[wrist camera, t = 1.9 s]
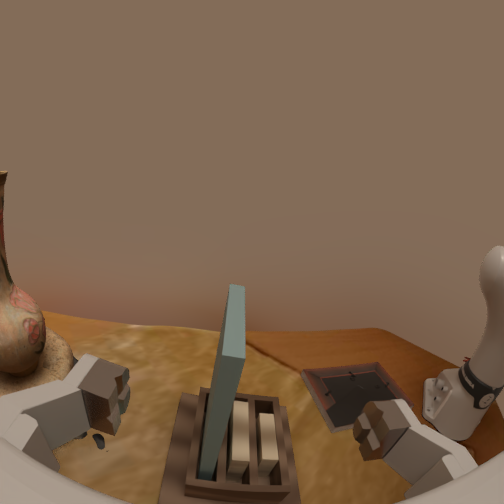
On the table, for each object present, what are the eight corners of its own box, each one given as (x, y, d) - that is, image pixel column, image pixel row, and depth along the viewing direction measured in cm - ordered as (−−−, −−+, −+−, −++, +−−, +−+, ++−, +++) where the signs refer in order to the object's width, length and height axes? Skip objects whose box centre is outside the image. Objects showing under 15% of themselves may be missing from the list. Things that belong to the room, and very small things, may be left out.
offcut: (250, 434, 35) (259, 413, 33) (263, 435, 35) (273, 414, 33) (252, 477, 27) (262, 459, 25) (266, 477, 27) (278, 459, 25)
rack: (181, 397, 41) (183, 372, 39) (283, 411, 42) (294, 388, 40) (158, 508, 20) (154, 495, 18) (299, 519, 21) (318, 506, 19)
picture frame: (330, 435, 38) (409, 411, 44) (335, 427, 38) (414, 404, 43) (299, 376, 54) (374, 368, 59) (303, 368, 53) (378, 361, 59)
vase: (-11, 365, 28) (-45, 167, 17) (83, 349, 44) (79, 163, 34) (8, 473, 13) (-112, 199, 3) (134, 442, 29) (126, 184, 19)
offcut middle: (226, 427, 35) (233, 400, 33) (239, 428, 35) (248, 402, 33) (223, 480, 26) (232, 459, 24) (238, 481, 26) (249, 461, 24)
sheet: (204, 419, 36) (230, 283, 29) (215, 420, 36) (244, 286, 29) (197, 482, 25) (222, 355, 18) (209, 484, 25) (245, 358, 18)
